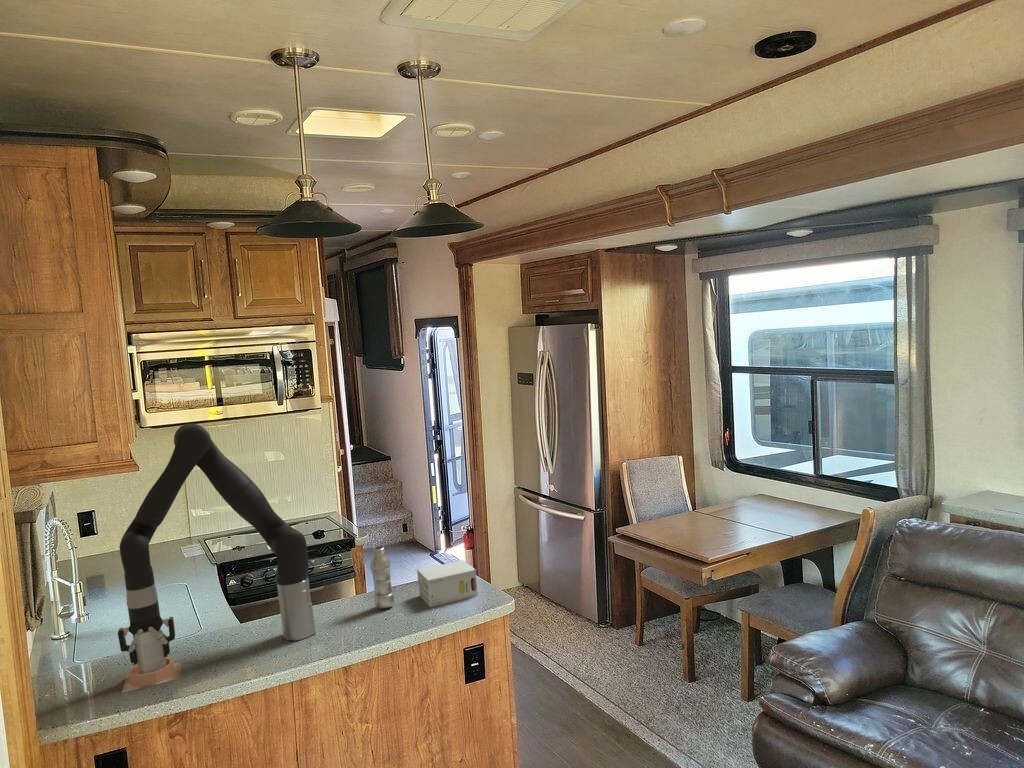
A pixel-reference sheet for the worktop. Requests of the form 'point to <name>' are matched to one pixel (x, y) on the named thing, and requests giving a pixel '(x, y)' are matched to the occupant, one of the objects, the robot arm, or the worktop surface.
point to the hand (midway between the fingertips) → (150, 659)
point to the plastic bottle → (381, 579)
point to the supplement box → (447, 583)
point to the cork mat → (173, 677)
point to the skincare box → (149, 652)
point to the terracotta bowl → (151, 674)
